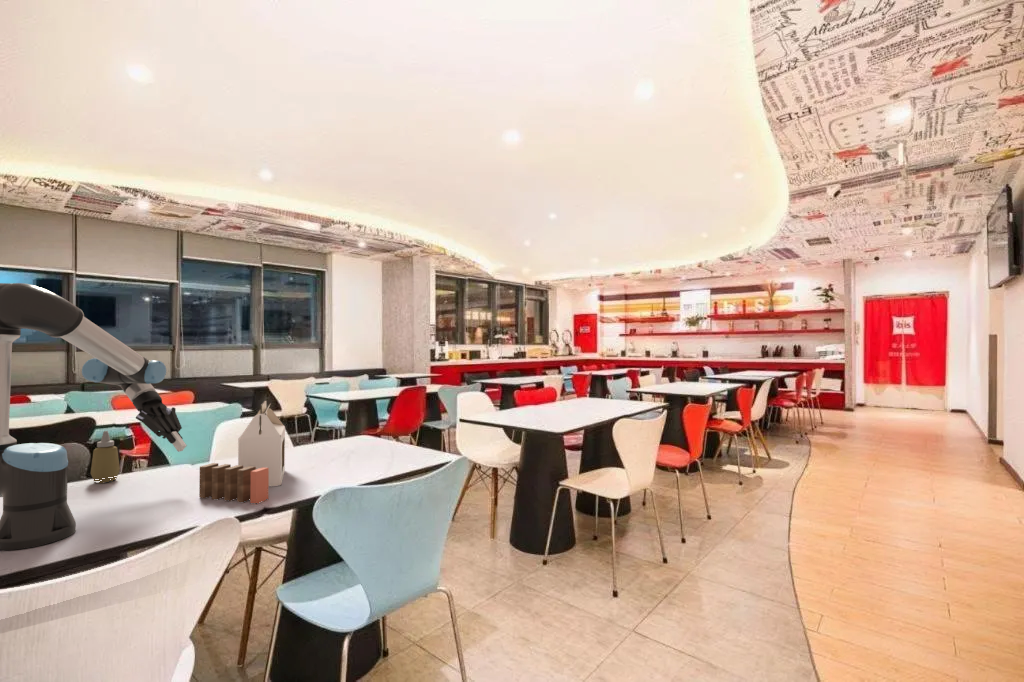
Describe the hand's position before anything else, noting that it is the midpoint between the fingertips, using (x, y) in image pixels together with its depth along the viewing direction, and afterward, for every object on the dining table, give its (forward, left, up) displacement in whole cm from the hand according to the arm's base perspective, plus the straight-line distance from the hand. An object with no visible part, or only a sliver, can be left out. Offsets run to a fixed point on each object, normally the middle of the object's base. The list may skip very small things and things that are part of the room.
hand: (182, 448), depth 163 cm
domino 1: (+6, -11, -14) cm, 19 cm away
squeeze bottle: (-21, +30, -14) cm, 39 cm away
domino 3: (+12, -19, -14) cm, 27 cm away
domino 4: (+15, -23, -14) cm, 31 cm away
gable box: (+24, -1, -15) cm, 28 cm away
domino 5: (+18, -27, -14) cm, 36 cm away
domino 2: (+9, -15, -14) cm, 23 cm away
